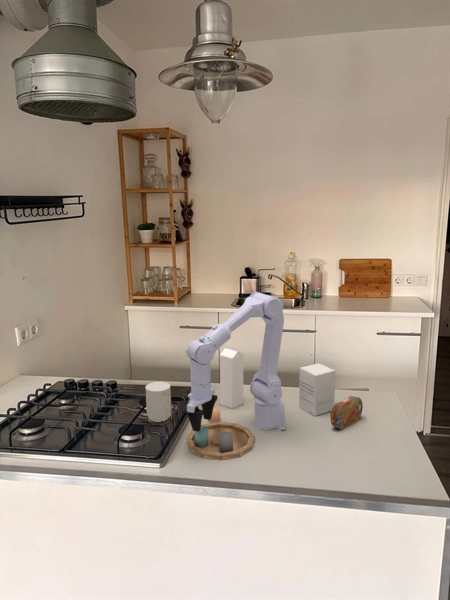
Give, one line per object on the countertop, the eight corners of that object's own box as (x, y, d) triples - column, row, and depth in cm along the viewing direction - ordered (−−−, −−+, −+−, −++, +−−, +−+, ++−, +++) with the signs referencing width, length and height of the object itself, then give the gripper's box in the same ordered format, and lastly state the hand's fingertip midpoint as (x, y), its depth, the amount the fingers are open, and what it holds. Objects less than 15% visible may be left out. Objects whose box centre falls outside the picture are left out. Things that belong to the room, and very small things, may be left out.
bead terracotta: (218, 419, 157) (218, 405, 156) (221, 424, 154) (221, 410, 153) (206, 421, 156) (206, 407, 155) (210, 426, 153) (209, 412, 151)
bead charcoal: (230, 446, 138) (230, 430, 137) (235, 453, 134) (234, 437, 133) (217, 448, 137) (217, 433, 136) (221, 455, 133) (221, 439, 132)
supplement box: (317, 401, 171) (318, 362, 168) (334, 410, 163) (336, 370, 160) (297, 406, 166) (298, 367, 163) (314, 416, 159) (316, 375, 155)
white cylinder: (167, 426, 153) (165, 392, 150) (143, 424, 154) (141, 390, 152) (174, 415, 161) (173, 382, 158) (152, 413, 162) (150, 380, 160)
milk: (231, 399, 173) (231, 342, 169) (243, 403, 169) (243, 345, 165) (219, 404, 169) (219, 345, 164) (232, 409, 165) (232, 349, 160)
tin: (336, 433, 148) (337, 408, 146) (328, 429, 150) (328, 405, 148) (362, 418, 157) (364, 394, 156) (354, 415, 160) (356, 392, 158)
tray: (241, 424, 154) (241, 418, 153) (263, 455, 135) (263, 448, 134) (181, 434, 148) (181, 427, 147) (196, 467, 129) (196, 460, 129)
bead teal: (206, 440, 142) (206, 425, 141) (209, 446, 138) (209, 431, 137) (193, 441, 141) (193, 426, 140) (196, 448, 137) (195, 433, 136)
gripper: (199, 371, 143) (200, 412, 146) (176, 388, 130) (178, 433, 133) (220, 374, 141) (221, 415, 144) (199, 392, 128) (200, 438, 130)
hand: (202, 424), depth 138 cm, fingers open, 7 cm apart
